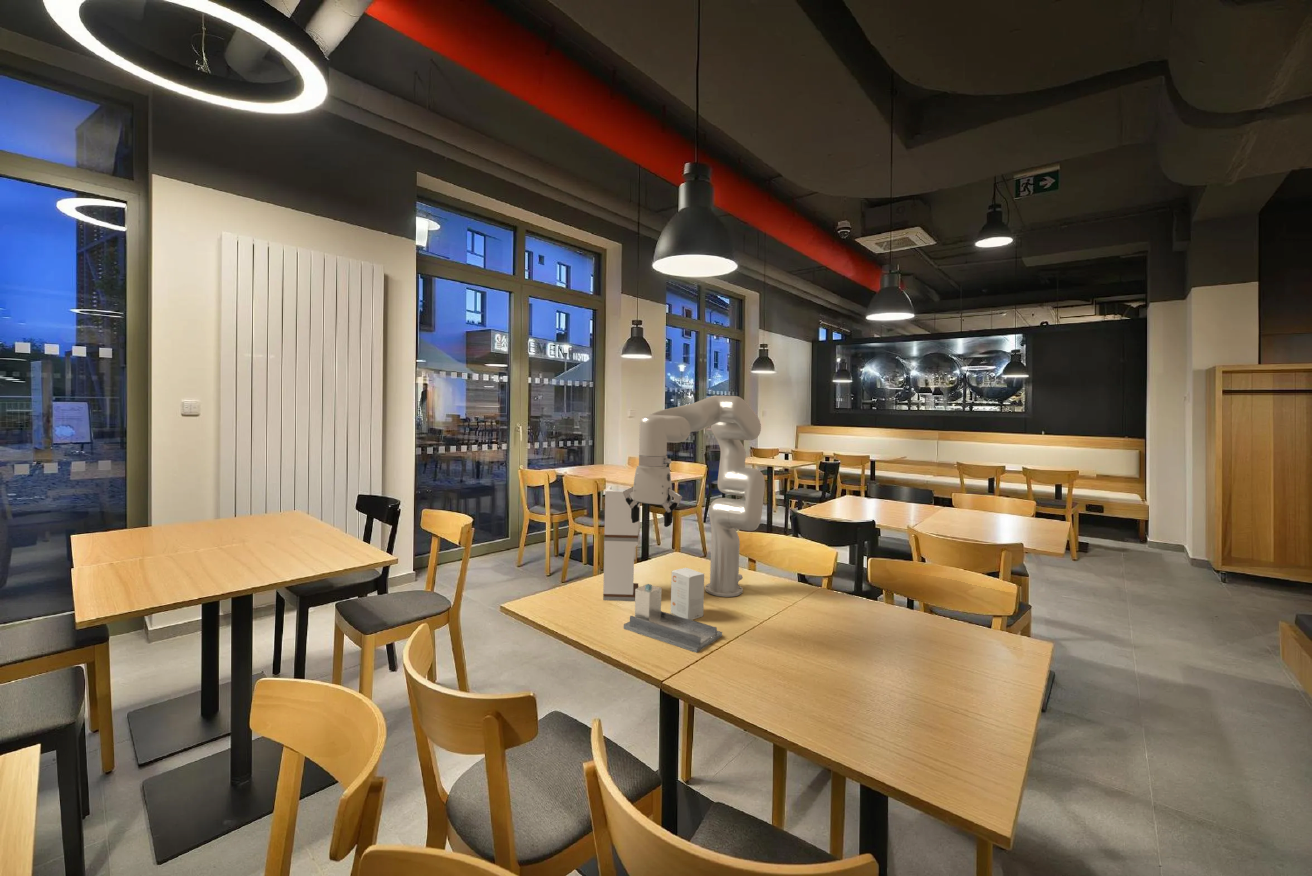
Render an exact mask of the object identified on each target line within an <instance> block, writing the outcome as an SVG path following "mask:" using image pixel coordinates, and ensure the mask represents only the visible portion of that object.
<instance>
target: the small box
mask: <svg viewBox="0 0 1312 876" xmlns="http://www.w3.org/2000/svg"><path fill="white" fill-rule="evenodd" d="M670 583H671V585H670V587H671V588H670V589H671V590H670V614H673V615H676V616H679V617H683V618H686V619H690V620H693V621H694V620H696V619H699V618H702V617H704V605H705V604H704V603H705V602H704V600H705V598H704V597H705V596H704V595H705V573H703V572H700V571H698V570H695V569H692V568H688V567H684V568H678V569H674V570H671V581H670Z"/></svg>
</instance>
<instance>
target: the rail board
mask: <svg viewBox="0 0 1312 876" xmlns="http://www.w3.org/2000/svg"><path fill="white" fill-rule="evenodd" d="M623 629H624V630H626V631H630V632H633V633H635V634H639V635H642V636H645V637H648V638H651V639H654V640H657V641H660V642H663V643H667V644H669V645H672V646H675V647H679V648H681V649H684V650H686V651H690V652H693V653H695V654H697V653H698V652H701V651H702V650H703V649H705V648H706V647H708V646H709V645H711V644H713V643H714V642H716V641H717V640H719V639H720V638H721V637H723V631H719V630H718V627H717V626H713V625H710V624H706V623H703V622H700V621H696V620H694V619H693V620H690V619H686V618H683V617H679V616H677V615H674V614H672V613H670V612H665V611H662V587H661V586H655V585H653V584H650V583H647V584H644V585H642V586H640V587H639V586H638V588H637V589H635V601H634V615H630V616H629V621H628V622H626V623H624V624H623Z"/></svg>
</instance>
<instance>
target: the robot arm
mask: <svg viewBox="0 0 1312 876" xmlns="http://www.w3.org/2000/svg"><path fill="white" fill-rule="evenodd" d="M709 427H710V430H711V432H712V434H713V436H714V438H715V440H716V442H717V443H718V446H719V449H720V456H719V457H720V458H719V464H718V465H719V467H718V474H717V475H718V476H717V489H718V491H719V492H720V493H723V494H725V495H732V496H739V497H744V498H745V500H741V499H736V498H727V497H719V498H716V499H714V500H712V502H710V506H709V509H708V516H709V522H710V531H711V537H710V539H711V542H710V544H711V545H710V568H709V569H710V571H709V572H710V573H709V576H710V577H709V583H707V584H706V585H704V591H706V592H707V593H708V594H710V595H712V596H717V597H722V598H731V597H737V596H740V595H741V594H743V587H742V586H741V585H739V581H741V580H743V574H741V573H739V571H740V570H739V569H740V545H741V543H740V542H741V541H740V537H739V534H738V532H737V530H741V531H742V530H743V531H747V532H751V531H752V532H753V531H755V530H757V529H758V528H759V526H760V523H761V521H762V516H763V515H762V513H763V506H764V498H765V497H764V496H765V487H766V484H765V483H766V482H765V481H766V480H765V476H764V474H763V473H762V471H760V470H759V469H757V468H753V467H752V468H751V467H746V457H747V455H746V454H747V453H746V449H745V447H744V444H743V443H742V441H754V440H756V439H757V438H759V437H760V434H761V431H762V424H761V420H760V419H759V417H758V415H757V414H756V413H755V411H754V410H753V408H751V406H750V404H749V403H747V401H746V400H744V399H743V398H742V397H740V396H737V395H711V396H709V397H705V398H704V399H703V398H702V399H700V400H698V401H696V402H693V403H690V404H685V405H680V406H675V407H670V408H665V409H660V410H658V411H655V412H652V413H650V414H647V416H643V417H642V418H640V420H639V437H638V439H639V440H638V443H639V444H638V445H639V446H638V449H639V450H638V466H637V465H636V468H635V473H634V478H633V479H634V480H633V486H632V487H630V488H628V489H625V490H622V491H623V495H624V497H625V499H626V502H627V503H628V504H629V507H630V508H631V519H632V523H635V522H638V521H639V507H638V505H639V503H640V504H641V503H642V504H649V505H660V506H662V507H663V509H664V510H665V511H664V515H663V517H664V518H663V526H664V527H665V528H668V527H670V526H671V525H672V523H673V512H674V510H675V509H676V508H677V507H678V506H679V505H680V503H681V501H682V499H683V496H682V495H681V494H680V493H678V492H676V491H675V490H673V485H672V475H671V470H670V467H669V466H668V464H672V459H671V458H668V455H667V454H668V453H667V452H668V451H667V450H668V449H667V448H668V443H674V444H675V443H681V442H682V443H683V442H684V441H686V440H687V439H688V438H689V436H690V434H691V433H693V432H694V433H695V432H699V431H703V430H705V429H707V428H709ZM632 492H633V499H634V500H633V499H632V498H631V497H630V493H632ZM673 499H674V501H673V503H672V500H673ZM736 529H737V530H736Z"/></svg>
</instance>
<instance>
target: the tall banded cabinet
mask: <svg viewBox="0 0 1312 876" xmlns="http://www.w3.org/2000/svg"><path fill="white" fill-rule="evenodd" d="M623 491H624V490H613V489H612V485H608V486H607V487H606V489H605V491H604V492H605V493H604V498H605V499H604V533H603V534H604V539H603V540H604V541H603V543H604V544H603V546H604V547H603V551H604V552H603V589H602V590H603V592H602V593H603V594H602V596H603V598H602V599H603V601H617V602H618V601H619V602H620V601H622V602H635V589H637V588H639V583H637V582H635V583H634V579H635V578H634V575H635V574H634V572H635V569H634V567H635V562H636V557H637V556H636V550H637V549H636V547H638V546H639V542H640V528H641V527H640V526H641V525H640V523H641V518H640V517H641V503H639V505H638V507H639V521H638V522H635V523H632V519H631V508H630V507H629V504H628V503H627V502H626V499H625V497H624V495H623ZM630 497H631V498H632V499H633V492H632V493H630ZM633 500H634V499H633Z"/></svg>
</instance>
